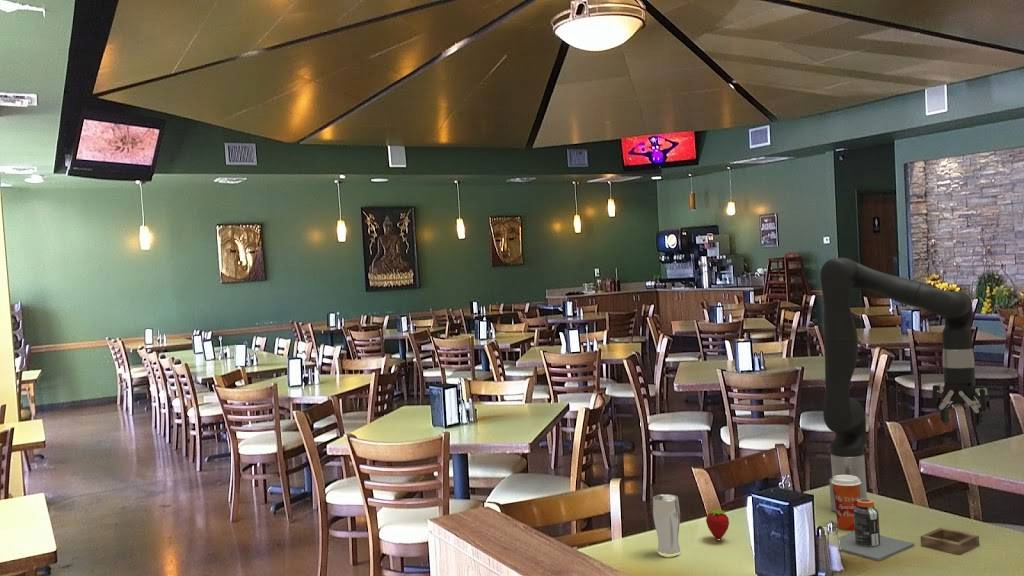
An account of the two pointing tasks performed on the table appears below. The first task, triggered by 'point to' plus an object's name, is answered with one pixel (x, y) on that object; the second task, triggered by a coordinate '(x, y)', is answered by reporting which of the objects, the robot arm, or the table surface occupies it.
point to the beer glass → (667, 522)
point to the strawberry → (717, 523)
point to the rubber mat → (873, 547)
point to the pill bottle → (866, 523)
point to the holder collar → (962, 539)
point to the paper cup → (846, 499)
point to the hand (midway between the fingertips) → (961, 424)
